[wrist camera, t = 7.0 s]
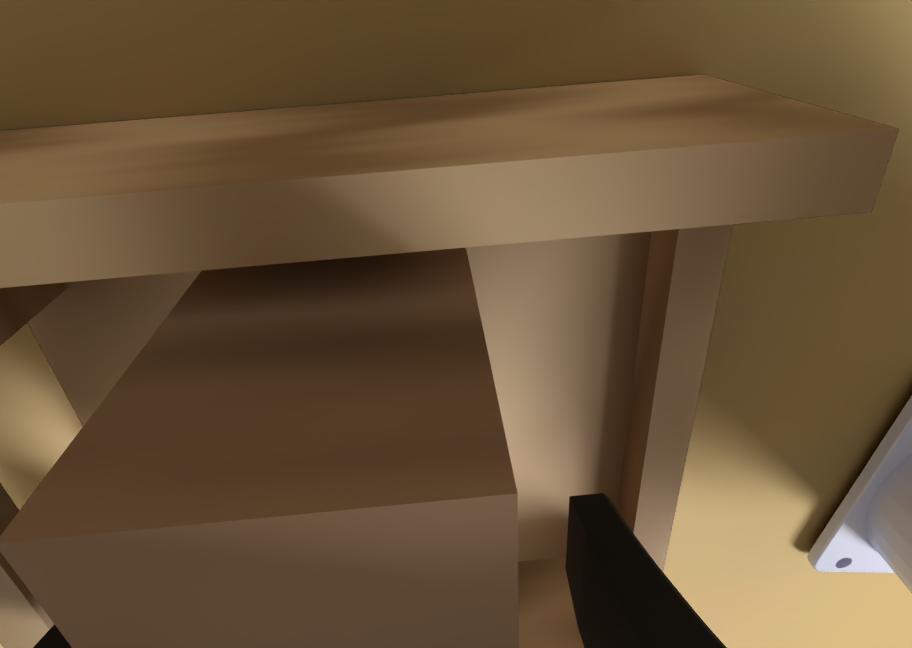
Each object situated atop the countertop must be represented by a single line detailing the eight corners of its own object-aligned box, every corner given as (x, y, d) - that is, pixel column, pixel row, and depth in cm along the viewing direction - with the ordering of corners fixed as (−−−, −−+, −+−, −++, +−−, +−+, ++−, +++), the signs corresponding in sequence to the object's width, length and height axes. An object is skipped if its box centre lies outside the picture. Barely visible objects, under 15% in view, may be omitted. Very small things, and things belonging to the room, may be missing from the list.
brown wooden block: (223, 241, 9) (-6, 543, 4) (460, 221, 9) (517, 494, 4) (330, 599, 15) (284, 932, 9) (482, 584, 15) (520, 905, 9)
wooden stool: (704, 74, 11) (898, 128, 6) (632, 547, 18) (702, 722, 14) (-38, 134, 10) (-353, 233, 6) (193, 591, 18) (122, 785, 13)
